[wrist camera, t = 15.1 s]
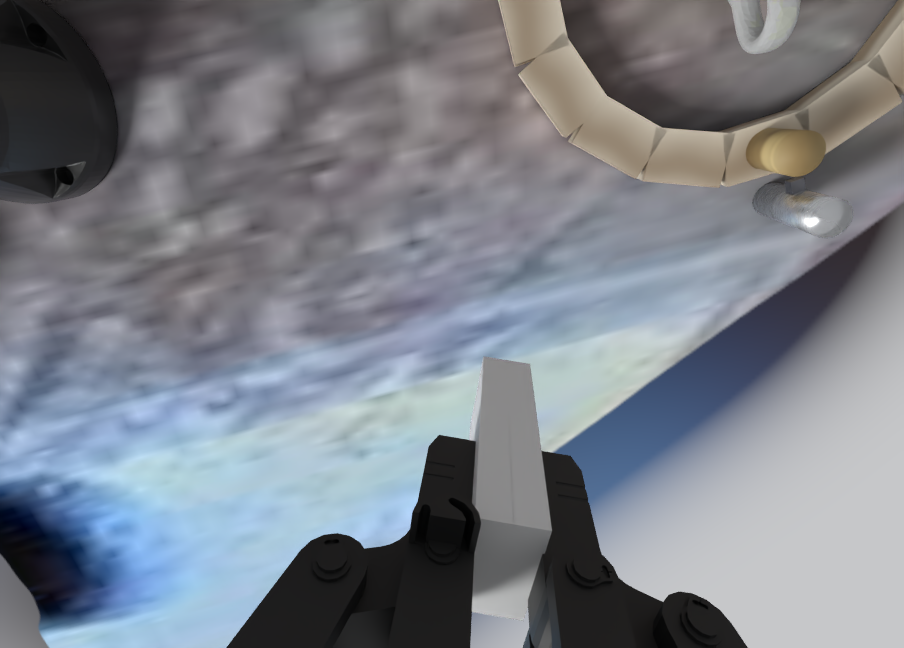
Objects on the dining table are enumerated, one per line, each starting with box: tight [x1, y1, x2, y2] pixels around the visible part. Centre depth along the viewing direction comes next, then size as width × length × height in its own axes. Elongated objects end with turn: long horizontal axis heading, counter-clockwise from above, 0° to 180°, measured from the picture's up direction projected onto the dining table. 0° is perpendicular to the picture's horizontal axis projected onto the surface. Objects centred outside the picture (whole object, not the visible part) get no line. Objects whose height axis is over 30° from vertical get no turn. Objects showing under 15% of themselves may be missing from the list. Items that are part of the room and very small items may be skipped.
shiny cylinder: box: [753, 177, 853, 238], centre depth 32 cm, size 3×3×7 cm
